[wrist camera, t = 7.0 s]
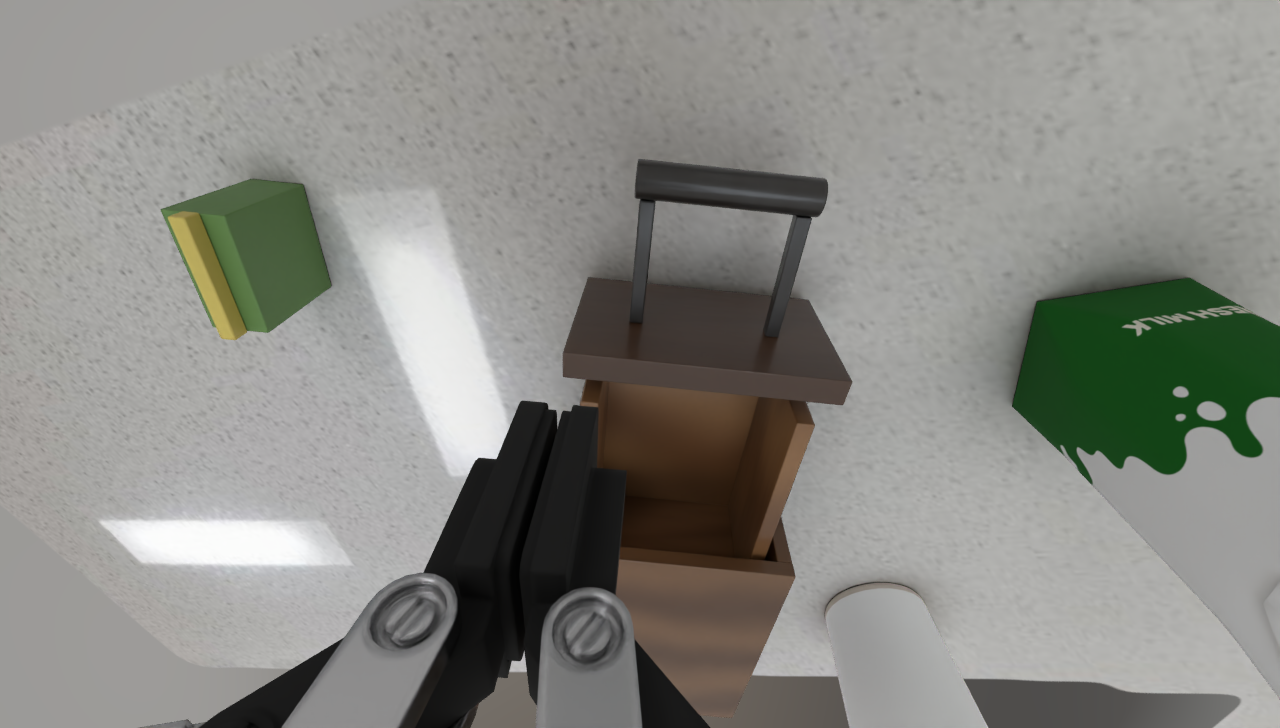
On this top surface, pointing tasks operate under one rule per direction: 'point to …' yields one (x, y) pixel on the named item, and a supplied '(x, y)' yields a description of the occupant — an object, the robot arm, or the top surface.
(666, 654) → the cabinet
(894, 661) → the mug
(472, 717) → the robot arm
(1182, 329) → the milk carton
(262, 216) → the green sponge
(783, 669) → the top surface
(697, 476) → the drawer
